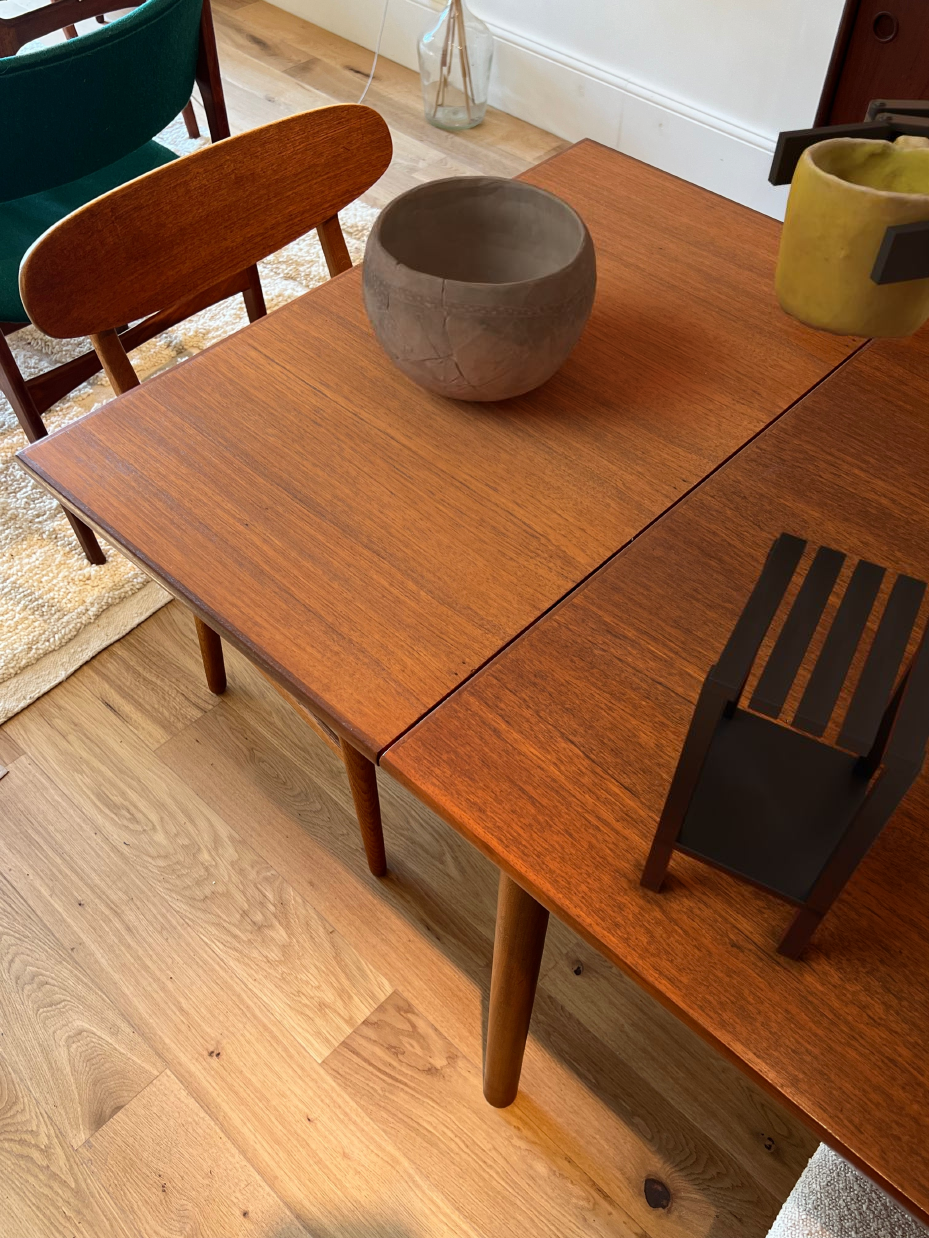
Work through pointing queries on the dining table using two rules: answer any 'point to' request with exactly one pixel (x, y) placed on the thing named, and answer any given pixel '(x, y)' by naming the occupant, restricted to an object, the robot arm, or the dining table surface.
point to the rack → (800, 742)
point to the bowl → (478, 285)
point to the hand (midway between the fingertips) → (825, 204)
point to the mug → (852, 236)
